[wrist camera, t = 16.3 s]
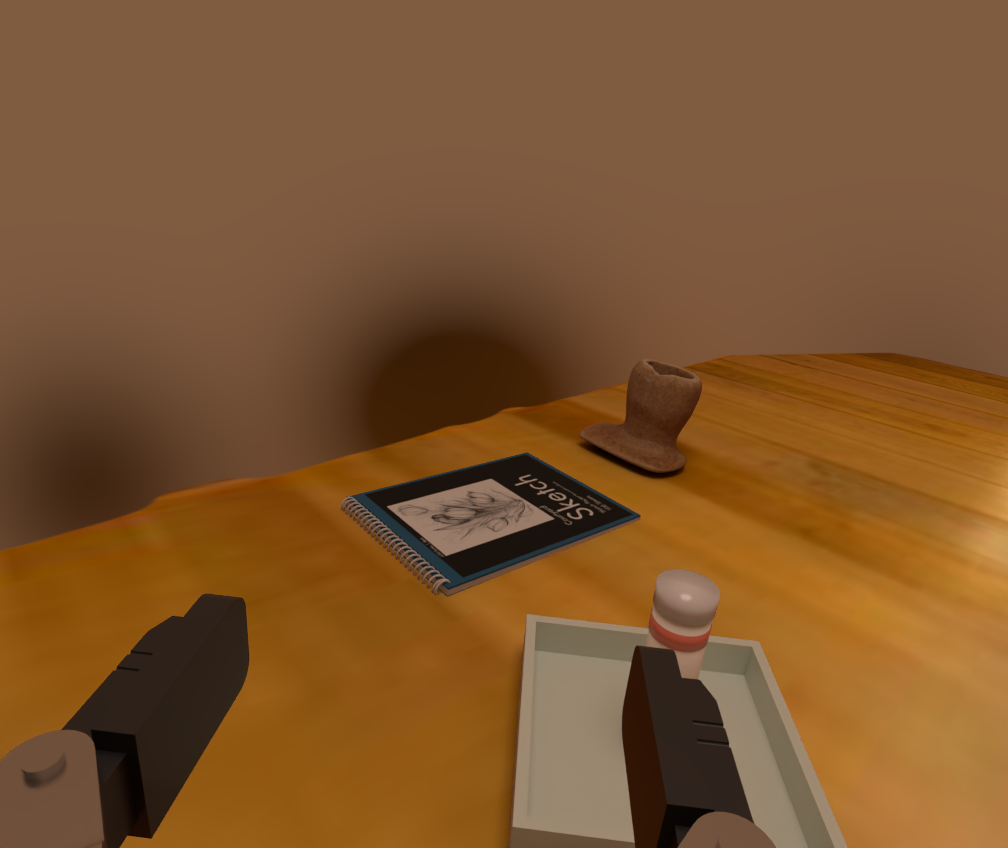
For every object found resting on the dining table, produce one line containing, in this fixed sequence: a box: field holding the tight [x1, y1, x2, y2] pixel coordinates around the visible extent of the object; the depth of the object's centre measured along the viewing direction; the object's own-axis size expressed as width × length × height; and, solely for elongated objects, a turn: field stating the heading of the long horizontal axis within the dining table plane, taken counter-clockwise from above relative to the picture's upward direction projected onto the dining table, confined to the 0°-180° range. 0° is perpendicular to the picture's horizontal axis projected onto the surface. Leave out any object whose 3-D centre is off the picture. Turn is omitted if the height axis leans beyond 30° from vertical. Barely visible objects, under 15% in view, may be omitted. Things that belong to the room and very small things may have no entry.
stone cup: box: [579, 359, 702, 473], centre depth 98 cm, size 15×12×15 cm
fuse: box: [645, 569, 720, 679], centre depth 45 cm, size 4×4×14 cm
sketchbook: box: [341, 453, 641, 597], centre depth 80 cm, size 22×30×2 cm
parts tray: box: [508, 614, 848, 848], centre depth 47 cm, size 20×20×4 cm
